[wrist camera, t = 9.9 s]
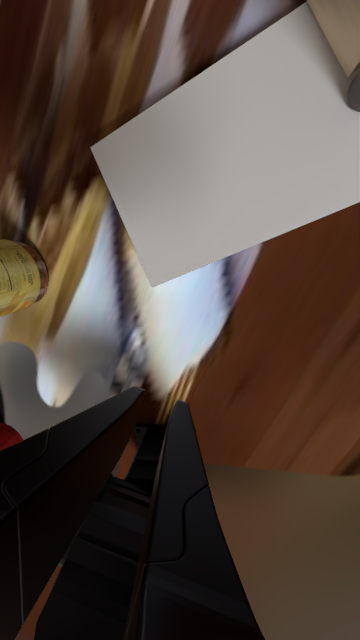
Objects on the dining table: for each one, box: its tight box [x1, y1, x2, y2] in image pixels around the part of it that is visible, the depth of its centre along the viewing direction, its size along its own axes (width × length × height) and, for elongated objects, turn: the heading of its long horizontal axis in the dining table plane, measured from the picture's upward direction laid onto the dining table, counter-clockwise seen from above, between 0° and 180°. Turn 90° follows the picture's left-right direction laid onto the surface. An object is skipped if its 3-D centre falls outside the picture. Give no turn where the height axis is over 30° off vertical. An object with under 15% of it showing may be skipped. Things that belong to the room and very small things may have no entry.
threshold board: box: [90, 2, 360, 287], centre depth 17 cm, size 20×11×1 cm, turn 113°
